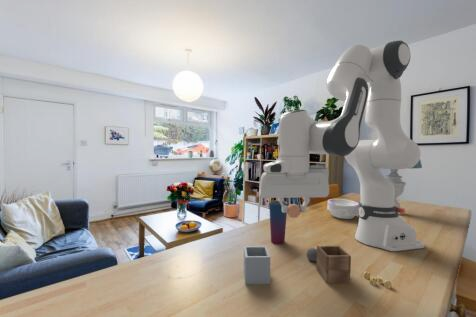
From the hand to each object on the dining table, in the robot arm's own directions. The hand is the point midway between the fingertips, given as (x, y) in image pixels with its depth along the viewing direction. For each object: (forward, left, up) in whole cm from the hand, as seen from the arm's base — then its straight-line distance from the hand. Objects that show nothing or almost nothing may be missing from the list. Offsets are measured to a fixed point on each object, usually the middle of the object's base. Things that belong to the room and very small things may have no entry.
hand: (293, 212), depth 66 cm
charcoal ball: (-7, -3, -16) cm, 18 cm away
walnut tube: (-9, +6, -16) cm, 20 cm away
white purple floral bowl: (-40, -49, -17) cm, 66 cm away
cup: (+1, -18, -17) cm, 24 cm away
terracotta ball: (0, 0, -2) cm, 2 cm away
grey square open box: (+12, +6, -16) cm, 21 cm away
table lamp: (-72, -56, -17) cm, 93 cm away
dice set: (-19, +9, -17) cm, 27 cm away
